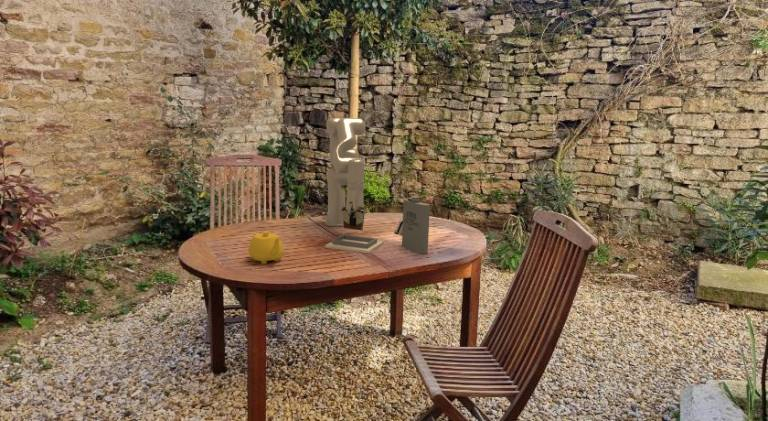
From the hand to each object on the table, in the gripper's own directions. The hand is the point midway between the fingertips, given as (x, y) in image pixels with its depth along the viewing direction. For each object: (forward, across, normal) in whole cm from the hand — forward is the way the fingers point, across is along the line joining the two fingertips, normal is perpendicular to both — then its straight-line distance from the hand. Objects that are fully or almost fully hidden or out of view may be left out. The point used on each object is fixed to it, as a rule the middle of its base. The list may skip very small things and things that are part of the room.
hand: (355, 224), depth 235 cm
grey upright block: (+11, -7, +27) cm, 30 cm away
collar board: (+11, 0, 0) cm, 11 cm away
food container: (+2, 0, 0) cm, 2 cm away
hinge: (+11, -38, +15) cm, 42 cm away
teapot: (+11, +38, -23) cm, 46 cm away
